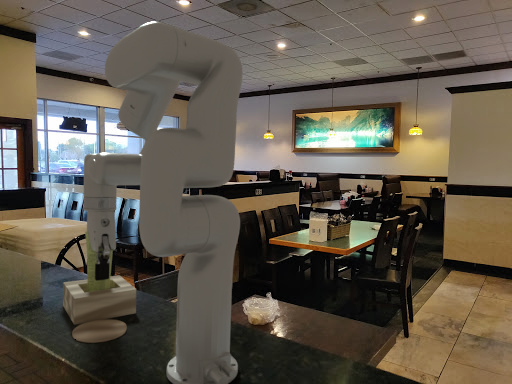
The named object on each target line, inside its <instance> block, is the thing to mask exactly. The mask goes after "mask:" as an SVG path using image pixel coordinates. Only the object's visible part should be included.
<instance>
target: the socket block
mask: <svg viewBox="0 0 512 384" xmlns="http://www.w3.org/2000/svg"><path fill="white" fill-rule="evenodd" d="M62 288H63V289H62V306H63V308H64V310H65V311H66V313H67V315H68V317H69V319H70V320H71V321H72V323H73V325H74V326H76V325H81V324H84V323H87V322H90V321H95V320H103V319H113V318H117V317H123V316H128V315H133V314H136V313H137V288H136V287H134V286H133V285H132V284H130V282H128V281H127V280H126V279H124V278H123V277H122V276H121V275H113V276H112V275H111V276H110V289H106V290H99V291H92V292H87V291H88V283H87V279H80V280H72V281H65V282H63V283H62Z"/></svg>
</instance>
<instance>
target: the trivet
mask: <svg viewBox="0 0 512 384" xmlns="http://www.w3.org/2000/svg"><path fill="white" fill-rule="evenodd" d="M127 330H128V327H127V324H126V323H125V322H124V321H121V320H118V319H113V318H108V319H102V320H95V321H90V322H86V323H81V324H78V325H77V326H76V327H74V328H73V330H72V331H71V332H72V334H71V335H72V338H73V339H74V340H75V339H76V340H75V341H77V342H80V343H87V344H88V343H89V344H90V343H91V344H93V343H105V342H109V341H113V340H115V339H118V338H120V337H122V336H123V335H124V334H126V332H127Z"/></svg>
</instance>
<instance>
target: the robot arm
mask: <svg viewBox="0 0 512 384" xmlns="http://www.w3.org/2000/svg"><path fill="white" fill-rule="evenodd" d="M104 64H105V65H104V75H105V79H106V81H107V83H108V84H109V85H110V86H111V87H113V88H115V89H119V90H125V91H126V93H125V95H124V98H123V100H122V103H121V106H119V107H120V108H119V110H118V114H117V116H118V120H119V121H120V123H121V124H122V125H123V126H124V127H125V129H127V130H128V131H129V132H132V133H133V134H134V135H137V136H138V137H140V138H141V139H143V140H144V141H145V142H144V144H143V146H142V148H141V150H140V152H139V153H126V152H125V153H122V152H98V153H88V154H86V155H85V156H84V158H83V211H84V212H87V215H86V231H88V237H89V243H90V247H91V249H92V250H94V251H95V252H96V260H97V264H95V280H96V281H98V280H106V279H109V262H110V260H109V257H110V256H109V255H110V249H111V250H112V251H113V252H114V251H115V250H116V248H117V238H116V237H117V236H116V234H117V233H116V216H115V211H117V191H118V190H117V186H139V211H138V212H139V213H138V214H139V215H138V226H139V227H138V229H139V235H140V240H141V243H142V245H143V247H144V249H145V250H146V251H147V252H148V253H149V254H150V255H152V256H155V257H159V258H160V257H161V258H166V257H172V256H173V257H174V256H180V255H185V256H184V258H183V259H182V262H181V264H180V267H179V271H178V274H177V275H178V276H177V291H176V292H177V297H176V301H177V302H176V334H175V337H176V339H175V356H174V357H172V358H171V359H170V360H169V361H168V363H167V365H166V371H165V372H166V377H167V379H168V380H169V381H170V382H171V383H172V384H229V383H231V382H232V381H234V380H235V379H236V377H237V375H238V373H239V371H238V370H239V364H238V362H237V360H236V359H235V358H234V357H233V356H232V354H231V353H230V351H231V319H232V298H233V297H232V294H233V293H232V291H233V290H232V289H233V274H234V273H233V272H234V261H235V253H236V248H237V244H238V240H239V235H240V229H241V217H240V214H239V211H238V208H237V206H236V205H235V204H234V203H233V202H232V201H231V200H230V199H228V198H226V197H223V196H220V195H213V194H204V195H203V194H201V195H200V194H197V195H183V193H184V189H192V188H193V189H194V188H196V189H197V188H202V189H203V188H216V187H221V186H224V185H226V184H228V183H229V181H230V180H231V179H232V176H233V174H234V169H235V168H234V167H235V161H236V160H235V158H236V157H235V155H236V141H237V140H236V139H237V119H238V117H237V113H238V105H239V98H240V93H241V89H242V83H243V74H244V73H243V72H244V71H243V65H242V64H243V63H242V62H241V58H240V56H239V55H238V53H237V52H236V51H235V50H234V49H233V48H232V47H230V46H228V45H227V44H225V43H222V42H220V41H218V40H215V39H212V38H210V37H207V36H206V35H205V36H204V35H202V34H199V33H195V32H193V31H189V30H186V29H183V28H181V27H178V26H175V25H171V24H170V23H169V24H168V23H166V22H163V21H150V22H145V23H144V24H142V25H140V26H139V27H137V28H136V29H134V30H132V32H130V33H128V34H127V35H125V36H124V37H122V38H121V39H120V40H118V41H117V42H116V43H115V44H114V45H113V47H111V49H110V51H109V52H108V55H107V57H106V60H105V63H104ZM181 83H185V84H186V83H187V84H190V85H196V86H197V87H196V88H195V89H194V91H193V92H192V94H191V96H190V97H189V100H188V103H187V105H186V124H185V128H179V127H163V128H159V126H160V124H161V122H162V120H163V118H164V116H165V114H166V112H167V110H168V108H169V106H170V104H171V102H172V100H173V99H174V96H175V95H176V92H177V90H178V88H179V86H180V84H181ZM109 244H110V247H109ZM101 248H103V251H99V249H101ZM109 248H110V249H109ZM101 253H103V254H102V255H101V256H100V254H101Z"/></svg>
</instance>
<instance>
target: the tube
mask: <svg viewBox="0 0 512 384" xmlns="http://www.w3.org/2000/svg"><path fill="white" fill-rule="evenodd" d="M84 233H85V234H84V235H85V244H86V266H87V269H86V270H87V278H86V280H87V283H88V291H87V292H92V291H99V290H106V289H110V276H112V274H111V273H112V263H113V262H112V261H113V252H114V251H112V250H111V249H110V248H109V249H110V255H109V256H110V257H109V260H110V262H109V279H106V280H98V281H96V280H95V264H97V260H96V252H95V251H94V250H92V249H91V247H90V243H89V237H88V231H87V230H85V231H84ZM109 247H110V244H109ZM99 251H103V248H101V249H99ZM102 254H103V253H101V254H100V256H101V255H102Z"/></svg>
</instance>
